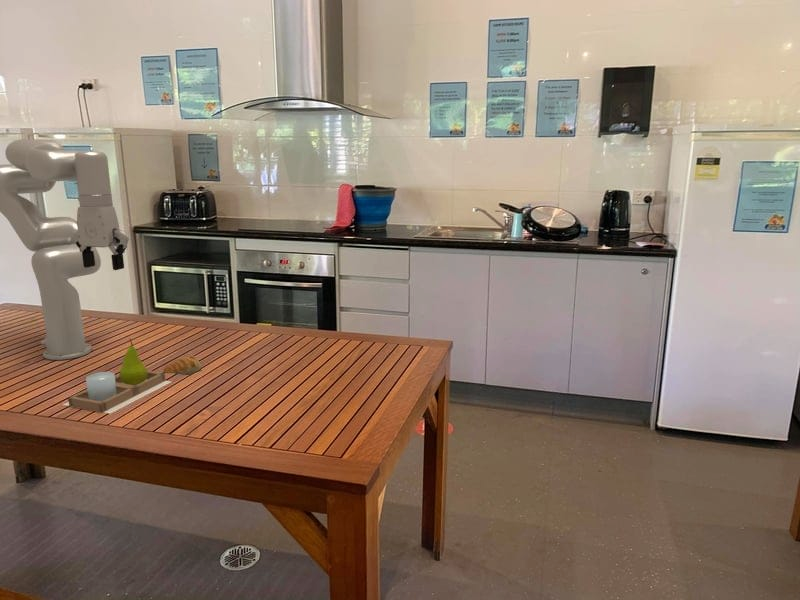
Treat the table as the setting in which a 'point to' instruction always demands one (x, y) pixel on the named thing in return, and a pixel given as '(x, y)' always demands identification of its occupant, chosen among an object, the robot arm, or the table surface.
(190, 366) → the pastry
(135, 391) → the tray
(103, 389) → the pale blue rounded block
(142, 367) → the fruit
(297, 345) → the table surface
